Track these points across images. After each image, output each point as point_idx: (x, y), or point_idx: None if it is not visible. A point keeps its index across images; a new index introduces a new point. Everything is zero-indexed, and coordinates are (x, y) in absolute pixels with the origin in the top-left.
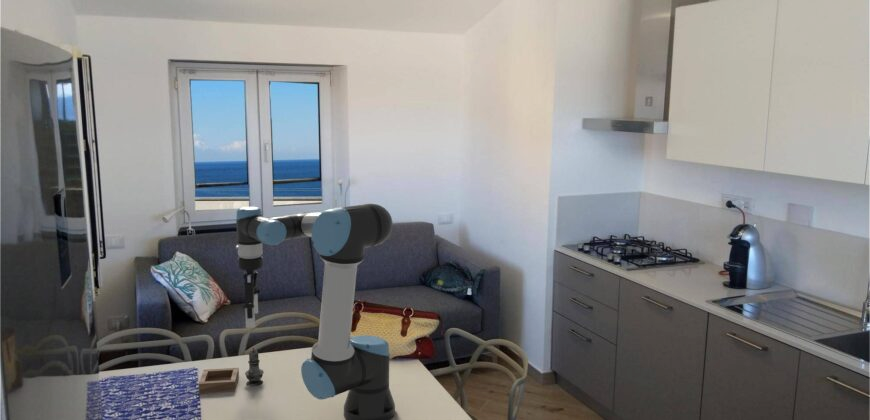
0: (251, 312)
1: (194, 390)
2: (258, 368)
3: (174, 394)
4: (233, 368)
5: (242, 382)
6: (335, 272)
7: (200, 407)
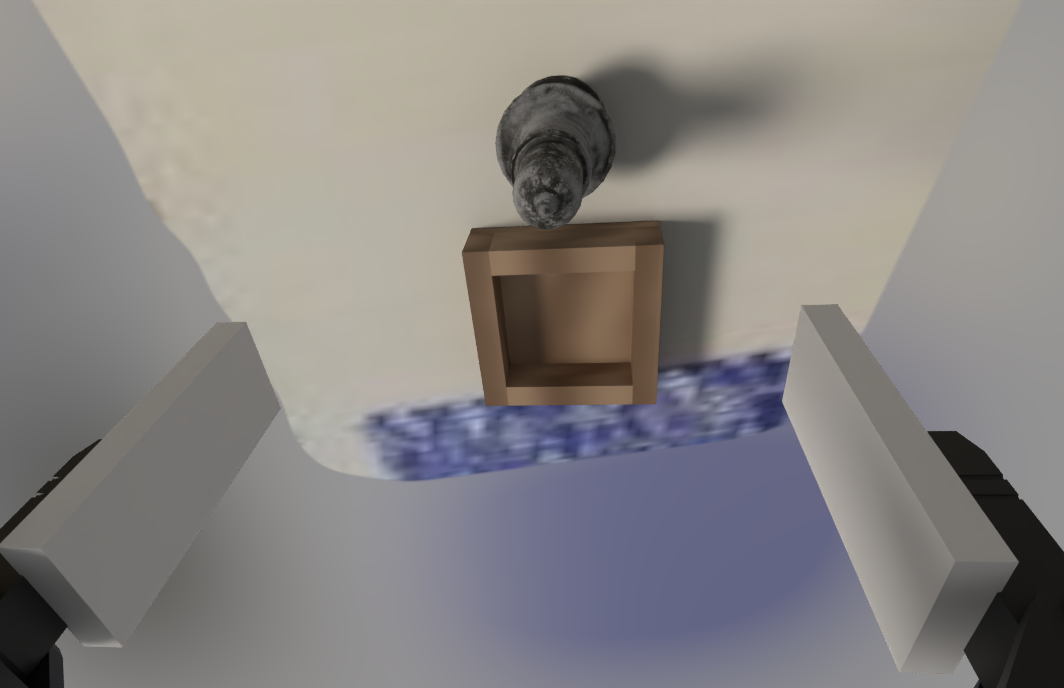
0: (1038, 527)
1: None
2: (567, 125)
3: (637, 451)
4: (473, 277)
5: None
6: None
7: None
